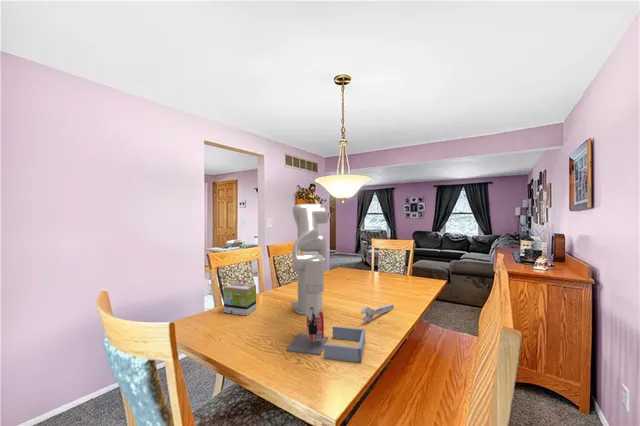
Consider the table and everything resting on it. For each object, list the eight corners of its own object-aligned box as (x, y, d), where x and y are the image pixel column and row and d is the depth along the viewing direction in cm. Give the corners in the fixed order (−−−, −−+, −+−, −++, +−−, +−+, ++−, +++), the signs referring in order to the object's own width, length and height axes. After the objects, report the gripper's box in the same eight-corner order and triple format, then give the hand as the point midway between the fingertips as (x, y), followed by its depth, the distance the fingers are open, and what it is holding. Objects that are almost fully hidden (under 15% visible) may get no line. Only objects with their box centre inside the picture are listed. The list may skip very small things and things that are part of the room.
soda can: (314, 333, 118) (314, 305, 117) (327, 337, 113) (326, 309, 113) (303, 339, 112) (303, 310, 112) (316, 344, 108) (316, 314, 107)
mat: (286, 350, 108) (286, 349, 108) (297, 335, 122) (297, 333, 122) (319, 355, 105) (319, 353, 105) (327, 338, 118) (327, 336, 118)
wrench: (393, 314, 151) (363, 325, 130) (390, 313, 152) (359, 324, 131) (394, 299, 152) (363, 308, 130) (391, 299, 153) (360, 307, 131)
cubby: (324, 357, 103) (323, 344, 103) (333, 337, 119) (332, 325, 119) (360, 362, 99) (360, 349, 99) (365, 340, 116) (364, 329, 116)
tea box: (223, 313, 149) (222, 286, 149) (234, 307, 158) (233, 282, 158) (247, 316, 144) (246, 288, 144) (257, 309, 154) (256, 283, 154)
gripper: (311, 281, 121) (312, 320, 122) (299, 293, 105) (300, 338, 105) (328, 282, 120) (328, 322, 120) (318, 294, 103) (318, 340, 103)
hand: (315, 329), depth 112 cm, fingers closed on soda can, 7 cm apart
